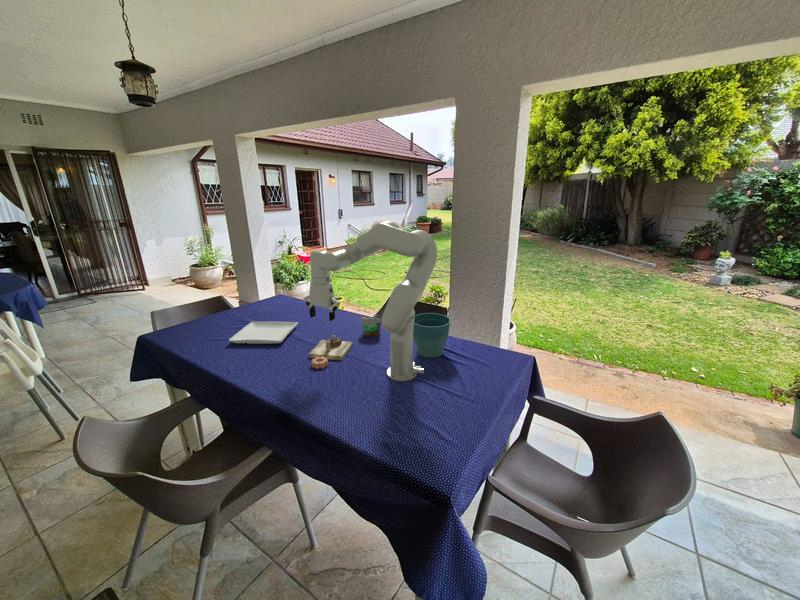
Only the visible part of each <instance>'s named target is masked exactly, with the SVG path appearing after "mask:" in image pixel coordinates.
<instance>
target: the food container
mask: <svg viewBox="0 0 800 600" xmlns="http://www.w3.org/2000/svg"><path fill="white" fill-rule="evenodd" d="M360 322H361V323H362V324H361V325H362V331H363V335H364V336H365V337H367V338H376V337H379V336H381V325H382V317H380V318H375V317H371V316H364V314H362V315H361V317H360Z"/></svg>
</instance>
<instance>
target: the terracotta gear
mask: <svg viewBox="0 0 800 600" xmlns="http://www.w3.org/2000/svg"><path fill="white" fill-rule="evenodd" d="M328 366H329V359H328V358H325V357H323V356H322V357H316V358H311V368H313V369H316V370H318V369H322V370H323V369H325V367H328Z"/></svg>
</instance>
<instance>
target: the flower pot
mask: <svg viewBox="0 0 800 600" xmlns="http://www.w3.org/2000/svg"><path fill="white" fill-rule="evenodd" d="M450 324H451V318H450V317H449V316H447V315H445V314H443V313H442V314H440V313H435V312H425V313H418V314H415V321H414V332H413V342H414V343H415V346H416V348H417V350H416V351H417V353H418V355H419V356H421V357H423V358H429V359H430V358H431V359H433V358H438V357H440V356H442V355H443V353H444V348H445V345H446V344H447V340H448V338H449V331H450Z"/></svg>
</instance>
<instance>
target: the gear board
mask: <svg viewBox="0 0 800 600" xmlns="http://www.w3.org/2000/svg"><path fill="white" fill-rule="evenodd" d="M352 348H353V341H343V340H342V338H340V337H339V336H338V337H336V335H335V334H333V335H331V337H330V338H329V337H328V338H327V339H321V340H320V341H319V342H318V343H317V344H316V346H314V348H313V349H312V350H311V351H310V352H309V353H308V358H309V359H315V358H316V357H322V356H323V357H325V358H328V360H334V361H335V360H336V361H343V360H344V358H345V357H346V355H347V354H348V353H349V351H350V350H351V349H352Z"/></svg>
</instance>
